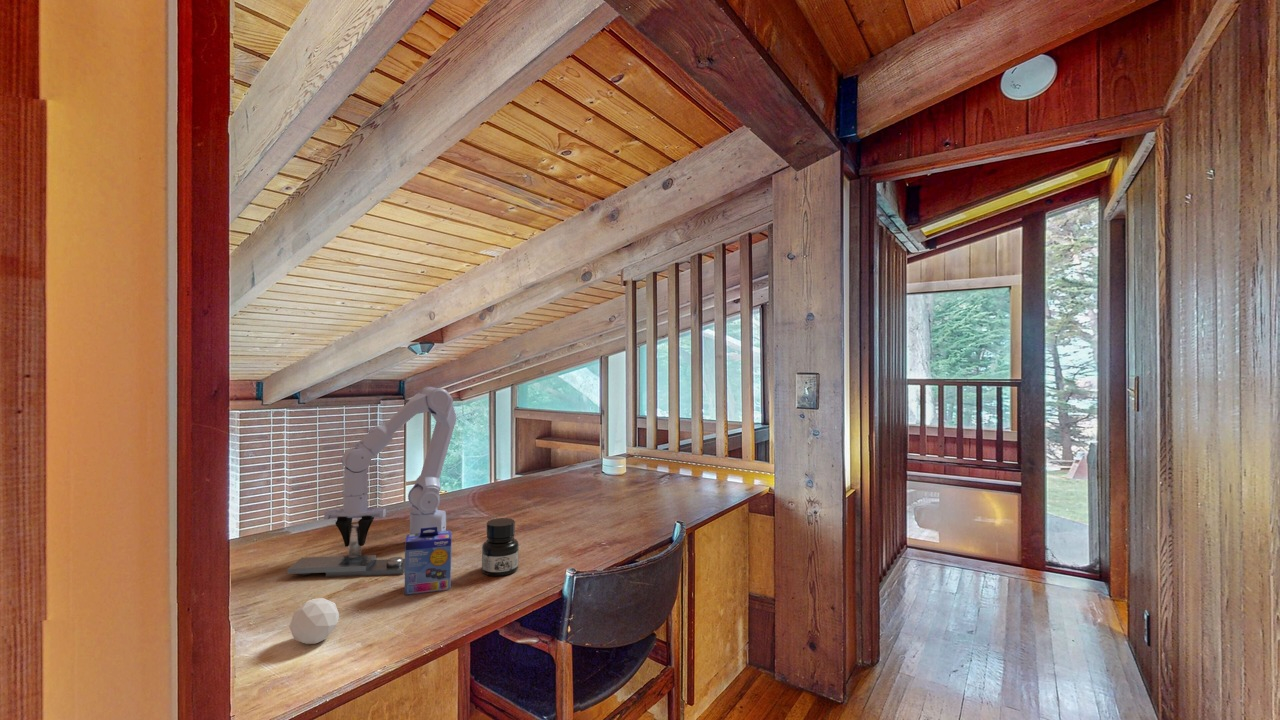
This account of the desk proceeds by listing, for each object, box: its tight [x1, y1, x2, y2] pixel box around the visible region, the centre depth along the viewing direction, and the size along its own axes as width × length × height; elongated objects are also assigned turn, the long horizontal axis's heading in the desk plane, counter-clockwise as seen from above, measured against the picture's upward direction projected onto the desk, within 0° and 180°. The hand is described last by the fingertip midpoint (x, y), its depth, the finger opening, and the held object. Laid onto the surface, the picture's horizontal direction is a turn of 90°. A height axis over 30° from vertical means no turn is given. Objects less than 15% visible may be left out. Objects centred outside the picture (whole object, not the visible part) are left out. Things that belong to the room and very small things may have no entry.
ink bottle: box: [481, 517, 520, 577], centre depth 133 cm, size 10×9×12 cm
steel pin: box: [348, 523, 362, 556], centre depth 141 cm, size 3×3×8 cm
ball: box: [288, 597, 340, 645], centre depth 99 cm, size 8×8×8 cm
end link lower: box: [325, 556, 405, 578], centre depth 132 cm, size 18×7×2 cm, turn 98°
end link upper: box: [287, 554, 377, 576], centre depth 130 cm, size 18×7×2 cm, turn 98°
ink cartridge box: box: [404, 527, 452, 596], centre depth 122 cm, size 10×6×14 cm, turn 111°
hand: (355, 545), depth 141 cm, fingers closed on steel pin, 3 cm apart
